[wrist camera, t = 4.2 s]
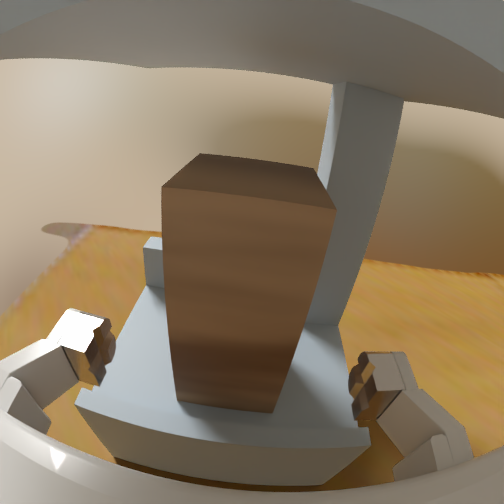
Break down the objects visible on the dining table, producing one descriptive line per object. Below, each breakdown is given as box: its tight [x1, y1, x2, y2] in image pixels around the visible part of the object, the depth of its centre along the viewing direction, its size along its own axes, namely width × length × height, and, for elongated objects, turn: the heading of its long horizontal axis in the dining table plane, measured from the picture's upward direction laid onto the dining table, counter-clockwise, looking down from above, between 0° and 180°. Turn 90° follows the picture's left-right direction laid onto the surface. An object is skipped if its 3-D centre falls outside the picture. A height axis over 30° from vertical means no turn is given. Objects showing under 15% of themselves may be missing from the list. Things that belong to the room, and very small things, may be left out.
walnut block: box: [161, 153, 337, 413], centre depth 12 cm, size 4×4×10 cm
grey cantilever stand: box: [0, 0, 504, 486], centre depth 13 cm, size 13×14×22 cm
